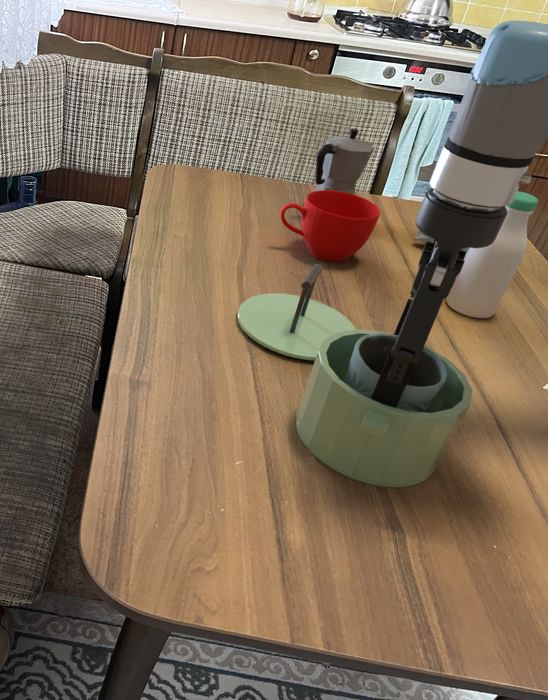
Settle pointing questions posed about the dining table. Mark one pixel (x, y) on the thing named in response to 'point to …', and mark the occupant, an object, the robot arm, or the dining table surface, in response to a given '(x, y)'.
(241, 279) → the dining table surface
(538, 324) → the dining table surface
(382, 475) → the pot
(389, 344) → the blue-grey cylindrical cup
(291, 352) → the lid
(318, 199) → the ceramic cup
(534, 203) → the milk bottle
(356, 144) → the coffeepot
